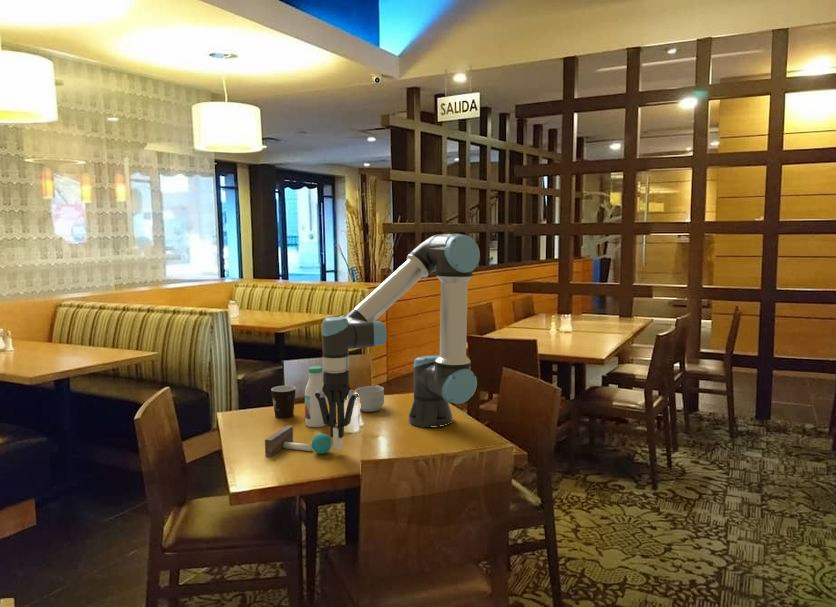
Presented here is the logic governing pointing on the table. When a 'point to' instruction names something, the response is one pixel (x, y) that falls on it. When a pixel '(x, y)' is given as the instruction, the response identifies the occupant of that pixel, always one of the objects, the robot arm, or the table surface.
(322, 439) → the ball
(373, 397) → the teacup
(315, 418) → the milk bottle
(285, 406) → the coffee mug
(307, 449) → the pin
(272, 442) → the back wall
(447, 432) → the table surface
